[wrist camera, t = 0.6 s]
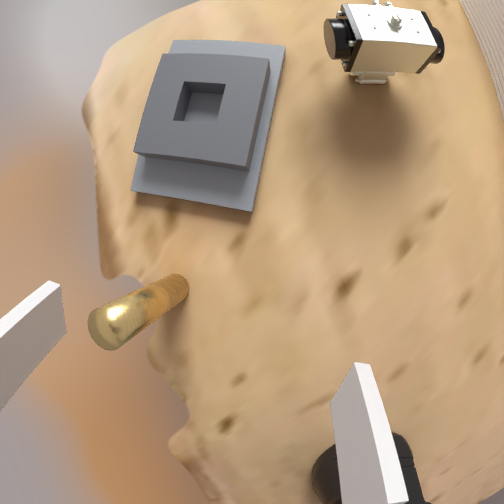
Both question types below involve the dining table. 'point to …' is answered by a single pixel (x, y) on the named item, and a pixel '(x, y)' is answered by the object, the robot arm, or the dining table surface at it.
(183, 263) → the dining table surface
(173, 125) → the grey socket base
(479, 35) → the stack of papers
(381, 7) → the pneumatic valve
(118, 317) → the brass pin
